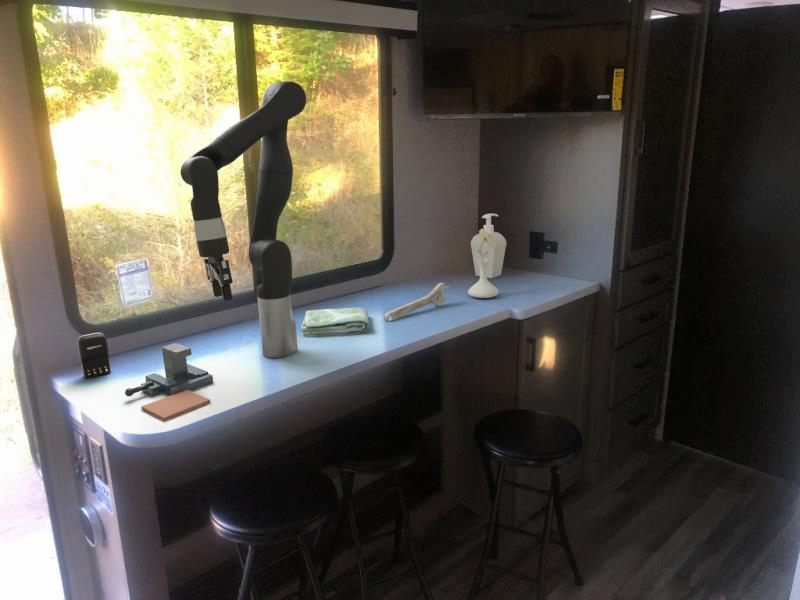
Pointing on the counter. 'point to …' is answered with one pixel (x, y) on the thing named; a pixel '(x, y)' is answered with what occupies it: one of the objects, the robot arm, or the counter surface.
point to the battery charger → (94, 354)
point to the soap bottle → (489, 250)
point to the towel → (335, 322)
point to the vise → (172, 383)
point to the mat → (175, 405)
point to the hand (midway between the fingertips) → (223, 298)
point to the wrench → (419, 303)
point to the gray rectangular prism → (176, 362)
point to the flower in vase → (484, 273)
